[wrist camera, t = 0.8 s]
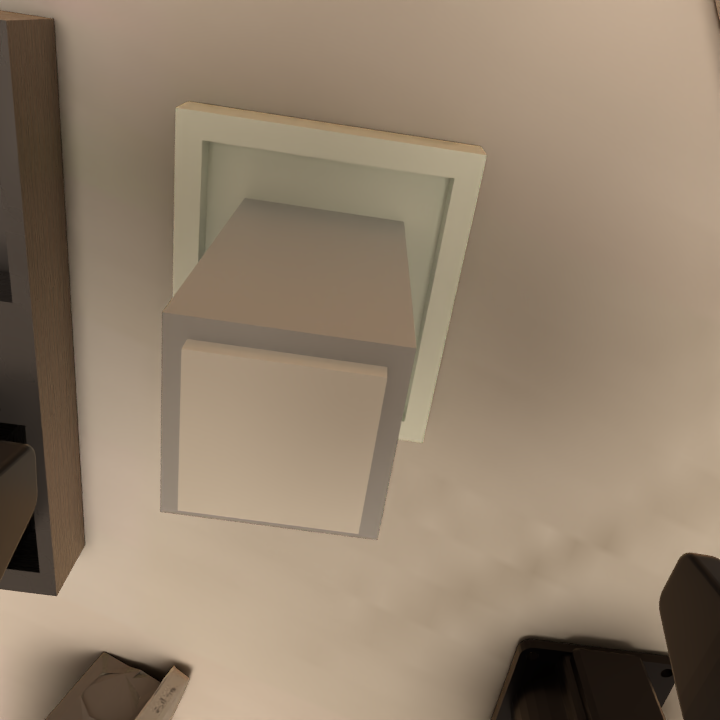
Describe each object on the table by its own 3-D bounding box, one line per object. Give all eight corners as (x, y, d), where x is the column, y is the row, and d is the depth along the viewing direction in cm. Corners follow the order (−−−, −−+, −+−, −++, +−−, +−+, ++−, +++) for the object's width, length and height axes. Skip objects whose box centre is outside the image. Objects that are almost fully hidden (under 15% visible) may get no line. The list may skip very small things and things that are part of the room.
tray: (420, 421, 23) (422, 443, 22) (181, 388, 22) (170, 408, 21) (480, 146, 19) (486, 155, 17) (188, 100, 18) (175, 107, 17)
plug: (379, 361, 21) (377, 553, 14) (235, 341, 21) (154, 525, 14) (403, 221, 19) (417, 358, 12) (244, 197, 19) (155, 321, 12)
